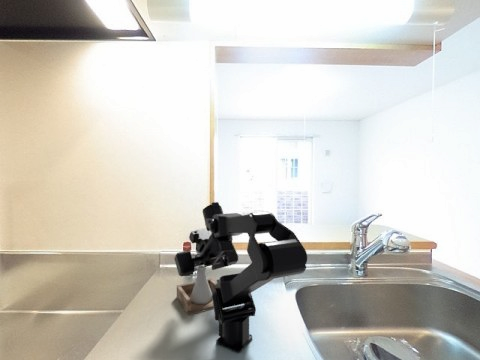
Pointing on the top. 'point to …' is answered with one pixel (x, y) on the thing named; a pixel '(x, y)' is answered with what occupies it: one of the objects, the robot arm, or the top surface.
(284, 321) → the top surface
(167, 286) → the top surface
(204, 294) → the flask
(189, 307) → the wooden tray
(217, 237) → the robot arm
